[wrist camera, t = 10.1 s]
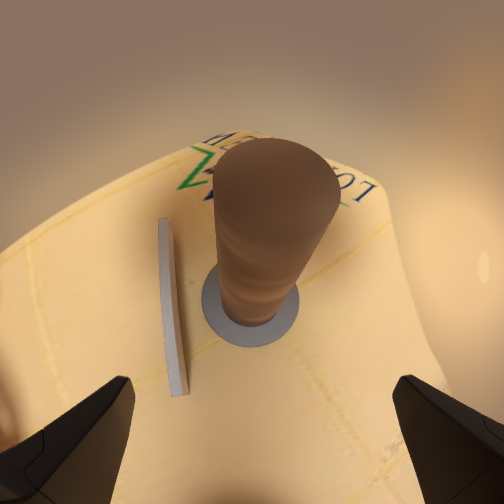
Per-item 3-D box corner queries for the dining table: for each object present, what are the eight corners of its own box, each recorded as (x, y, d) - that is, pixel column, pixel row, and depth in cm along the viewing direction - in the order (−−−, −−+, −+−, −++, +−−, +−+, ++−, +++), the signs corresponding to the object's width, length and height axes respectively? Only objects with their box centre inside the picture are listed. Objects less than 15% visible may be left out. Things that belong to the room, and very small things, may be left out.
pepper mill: (292, 302, 22) (363, 192, 10) (247, 339, 21) (275, 262, 8) (254, 260, 24) (280, 125, 11) (209, 293, 22) (187, 170, 10)
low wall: (189, 394, 19) (183, 395, 16) (179, 395, 19) (171, 396, 16) (173, 236, 25) (167, 217, 22) (165, 237, 25) (158, 219, 22)
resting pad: (312, 281, 24) (313, 279, 23) (271, 364, 20) (272, 363, 20) (232, 241, 25) (232, 239, 25) (183, 316, 22) (183, 315, 21)
